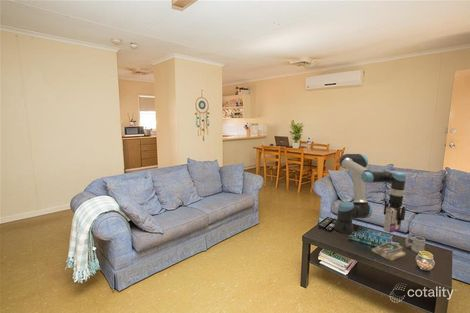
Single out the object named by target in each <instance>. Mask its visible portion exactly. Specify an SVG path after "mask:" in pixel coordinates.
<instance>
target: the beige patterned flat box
mask: <svg viewBox="0 0 470 313" xmlns="http://www.w3.org/2000/svg"><path fill="white" fill-rule="evenodd" d="M388 245H392V246H393V247H394V248H396V249H388V248H386V247H387V246H388ZM403 248H404V247H403V246H401V245H398V244H396V243H394V242H393V241H387V242H385V243H382V244H379V245H376V246H375V247H373V248H371V252H373V253H375V254H377V255H379V256H381V257H382V258H384V259H387V261H388V260H389V262H390V261H391V262H393V261H396V260H398V259H399V258H403V257H405V256H406V255H407V253H406V252H405V251H403Z"/></svg>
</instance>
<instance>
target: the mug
mask: <svg viewBox="0 0 470 313" xmlns="http://www.w3.org/2000/svg"><path fill="white" fill-rule="evenodd" d="M410 239H413V240H412V242H411V243H410V242H409V240H410ZM404 243H405V246H406V247H411V251H412V252H413V253H416V254H419V253H418V252H419V251H425V246H426V239H425V238H424V237H421V236H418V235H415V236H412V233H411V232H409V233H408V235H407V236H406V238H405V242H404Z"/></svg>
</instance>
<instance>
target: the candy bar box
mask: <svg viewBox="0 0 470 313" xmlns="http://www.w3.org/2000/svg"><path fill="white" fill-rule="evenodd" d="M398 209H399V208H398ZM401 210H402V207H400V213H401ZM396 220H397V209H395V208H393V207H390V206H388V208H386V214H385V215H384V223H383V231H385V232H387V233H390V234H391V233H394V232H397V231H400V230H401V227H402V226H401V225H402V221H401V222H400V225H399V227H398V229H395V224H396Z"/></svg>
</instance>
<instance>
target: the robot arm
mask: <svg viewBox="0 0 470 313" xmlns="http://www.w3.org/2000/svg"><path fill="white" fill-rule="evenodd" d="M338 163H339V166H340V167H341V168H343V169H345V170H348V171H350V172H352V183H353V186H352V187H353V195H354V196H353V198H354V200H353V201H352V202H351V201H341V202H340V203H338V206H337V216H336V221H335V223H334V225H333V229H334V230H335V231H336V232H338V233H340V234H347V235H350V234H353V233H354V230H355V229H354V225H353V220H354V219H369V218H370V217H371V216H372V214H373V206H372V205H371V204H370V203H369V201H368V200H367V198H366V186H365V185H366V183H368V184H370V183H376V184H377V183H380V184H381V183H385V184H386V183H387V184H391V185H390V193H389V199H388V200H384V206H383V207H384V209H383V215H384V216H385V214H386V208H388V207H393V208H395V209H397V220H396V224H395V229H398V227H399V225H400V222H401V223H402V221H404V220H405V216H406V210H407V208H408V207H407V205H406V206H405V205H404V204H403V201H404V194H405V187H406V181H407V179H406V178H407V174H406V172H402V171H393V172H390V171H389V170H381V171H372V170H369V169H367V166H368V165H369V160H368V157H367V156H366V155H365V154H362V153H346V154H345V153H344V154H342V155H341V156H340V157H339V159H338ZM400 207H402V210H401V213H400ZM398 208H399V209H398ZM352 232H353V233H352Z"/></svg>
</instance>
